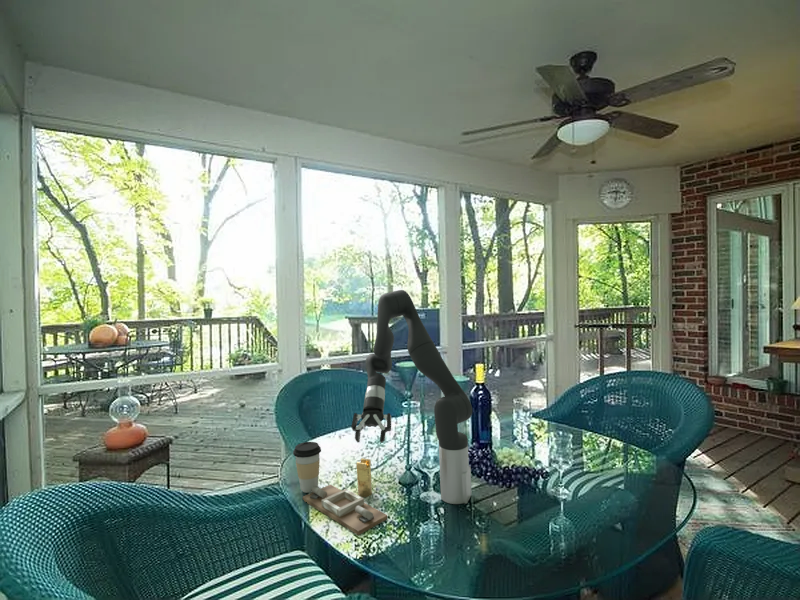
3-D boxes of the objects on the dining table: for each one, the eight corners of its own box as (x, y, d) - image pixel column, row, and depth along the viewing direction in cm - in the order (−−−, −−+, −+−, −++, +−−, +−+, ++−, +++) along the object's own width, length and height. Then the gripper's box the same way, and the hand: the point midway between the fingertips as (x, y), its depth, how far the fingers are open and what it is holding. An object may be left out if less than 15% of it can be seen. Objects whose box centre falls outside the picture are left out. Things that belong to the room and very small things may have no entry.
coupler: (374, 491, 151) (372, 459, 150) (368, 497, 147) (366, 465, 146) (362, 489, 153) (360, 457, 152) (355, 495, 148) (354, 463, 148)
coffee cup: (313, 479, 161) (310, 438, 160) (328, 487, 155) (326, 445, 154) (290, 489, 155) (287, 446, 154) (305, 498, 148) (302, 454, 147)
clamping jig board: (387, 519, 134) (386, 506, 133) (358, 535, 126) (357, 522, 126) (330, 487, 155) (329, 477, 154) (302, 500, 147) (302, 488, 147)
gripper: (353, 395, 168) (347, 437, 157) (391, 395, 166) (387, 437, 155) (358, 405, 173) (352, 445, 163) (394, 405, 171) (391, 446, 161)
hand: (369, 441), depth 159 cm, fingers open, 8 cm apart
